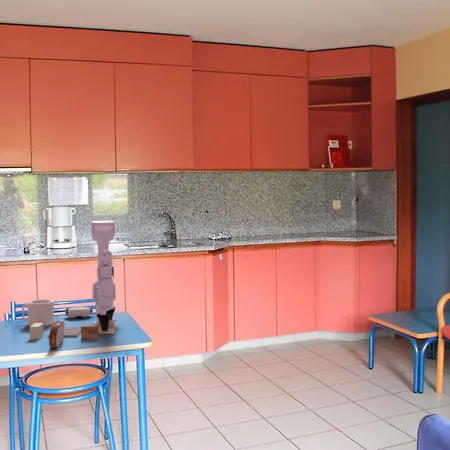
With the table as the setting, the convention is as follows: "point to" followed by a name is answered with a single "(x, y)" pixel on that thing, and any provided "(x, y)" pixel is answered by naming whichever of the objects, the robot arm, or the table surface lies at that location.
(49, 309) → the mug
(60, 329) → the tin
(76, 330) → the slate plate
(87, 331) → the walnut block
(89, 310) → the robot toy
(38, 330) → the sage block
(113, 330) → the tan block
